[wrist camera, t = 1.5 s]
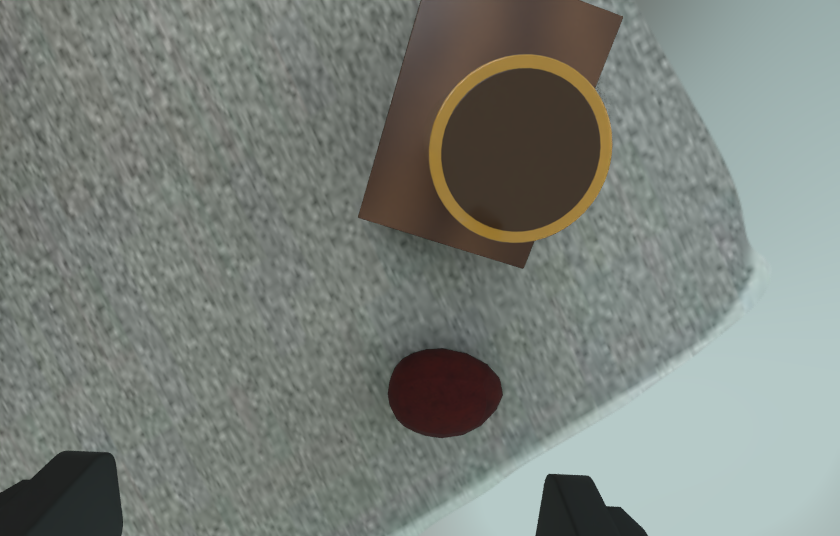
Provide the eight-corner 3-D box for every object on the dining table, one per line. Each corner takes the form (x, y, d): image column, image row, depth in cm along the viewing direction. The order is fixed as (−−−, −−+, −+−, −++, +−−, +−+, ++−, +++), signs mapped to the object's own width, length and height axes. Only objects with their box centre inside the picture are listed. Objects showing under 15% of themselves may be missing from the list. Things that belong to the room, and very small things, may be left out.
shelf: (371, 192, 37) (357, 217, 28) (429, -4, 34) (436, -54, 24) (495, 232, 38) (523, 269, 29) (565, 45, 35) (623, 16, 25)
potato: (400, 324, 40) (399, 358, 35) (505, 347, 41) (520, 384, 35) (380, 402, 42) (375, 446, 37) (481, 423, 43) (491, 470, 37)
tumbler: (407, 177, 27) (405, 213, 17) (442, 65, 25) (464, 26, 15) (509, 210, 28) (570, 265, 17) (550, 102, 26) (643, 90, 16)
